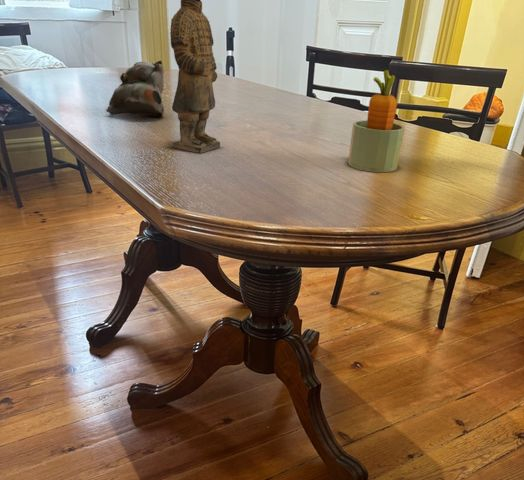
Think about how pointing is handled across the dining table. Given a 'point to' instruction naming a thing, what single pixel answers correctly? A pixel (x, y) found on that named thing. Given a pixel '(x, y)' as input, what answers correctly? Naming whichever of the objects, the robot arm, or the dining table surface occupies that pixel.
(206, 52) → the statue
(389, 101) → the carrot
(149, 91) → the dark stacked lumps
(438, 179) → the dining table surface
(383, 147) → the holder
